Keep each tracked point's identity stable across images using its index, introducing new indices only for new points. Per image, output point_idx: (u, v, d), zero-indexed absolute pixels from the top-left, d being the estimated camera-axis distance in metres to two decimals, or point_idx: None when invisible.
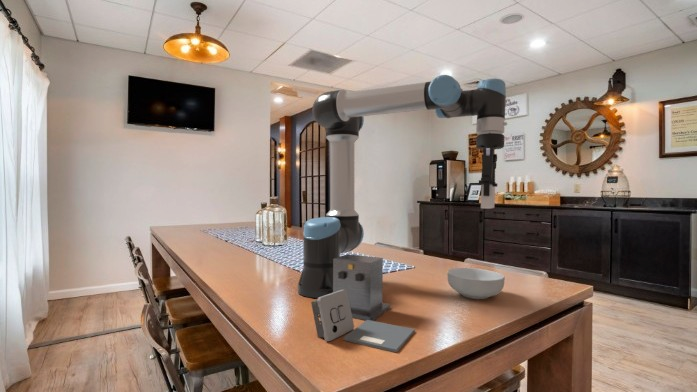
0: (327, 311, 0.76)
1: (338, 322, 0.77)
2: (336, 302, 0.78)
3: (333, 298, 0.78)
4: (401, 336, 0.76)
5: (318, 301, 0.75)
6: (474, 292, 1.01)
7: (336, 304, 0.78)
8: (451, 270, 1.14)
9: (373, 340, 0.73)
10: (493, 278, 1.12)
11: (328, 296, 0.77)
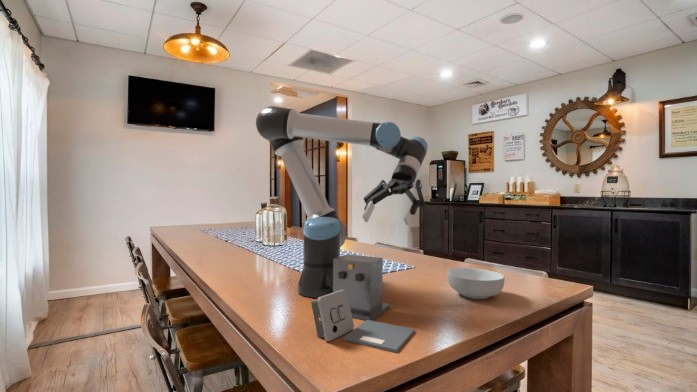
0: (327, 311, 0.76)
1: (338, 322, 0.77)
2: (336, 302, 0.78)
3: (333, 298, 0.78)
4: (401, 336, 0.76)
5: (318, 301, 0.75)
6: (474, 292, 1.01)
7: (336, 304, 0.78)
8: (451, 270, 1.14)
9: (373, 340, 0.73)
10: (493, 278, 1.12)
11: (328, 296, 0.77)
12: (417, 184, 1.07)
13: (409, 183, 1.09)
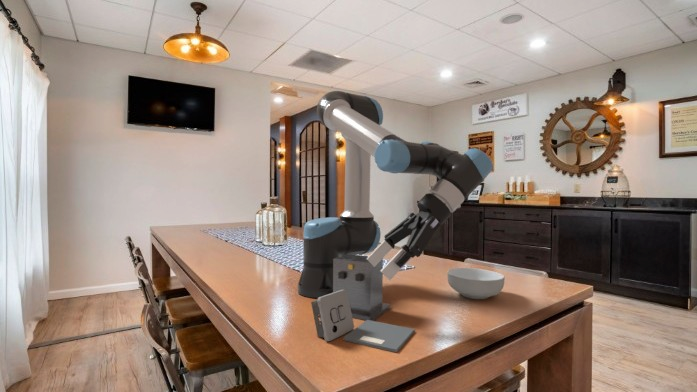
0: (327, 311, 0.76)
1: (338, 322, 0.77)
2: (336, 302, 0.78)
3: (333, 297, 0.78)
4: (401, 336, 0.76)
5: (318, 301, 0.75)
6: (474, 292, 1.01)
7: (336, 304, 0.78)
8: (451, 270, 1.14)
9: (373, 340, 0.73)
10: (493, 278, 1.12)
11: (328, 296, 0.77)
12: (426, 223, 0.74)
13: (424, 220, 0.77)
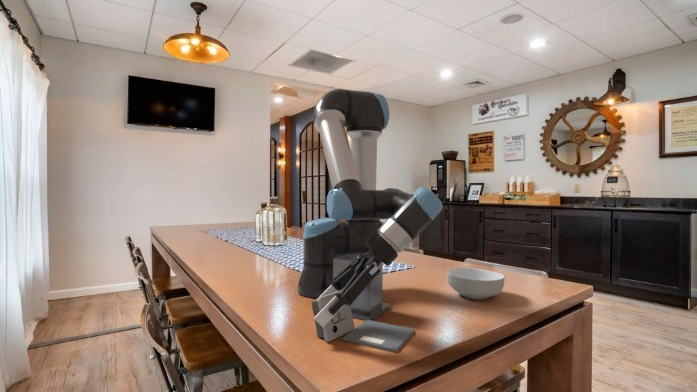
0: None
1: (338, 322, 0.77)
2: None
3: None
4: (401, 336, 0.76)
5: (318, 301, 0.75)
6: (474, 292, 1.01)
7: None
8: (451, 270, 1.14)
9: (373, 340, 0.73)
10: (493, 278, 1.12)
11: (328, 296, 0.77)
12: (365, 269, 0.73)
13: (368, 263, 0.76)
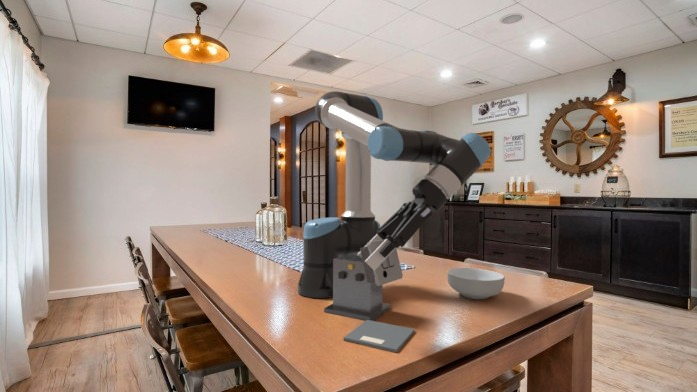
0: None
1: (388, 268, 0.75)
2: None
3: None
4: (401, 336, 0.76)
5: (368, 245, 0.74)
6: (474, 292, 1.01)
7: None
8: (451, 270, 1.14)
9: (373, 340, 0.73)
10: (493, 278, 1.12)
11: (377, 242, 0.76)
12: (416, 212, 0.72)
13: (418, 207, 0.75)
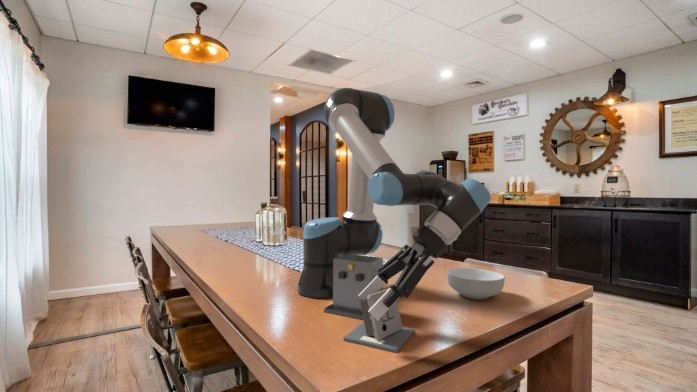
0: None
1: (387, 321, 0.76)
2: None
3: None
4: (401, 336, 0.76)
5: (368, 299, 0.74)
6: (474, 292, 1.01)
7: None
8: (451, 270, 1.14)
9: (373, 340, 0.73)
10: (493, 278, 1.12)
11: (377, 294, 0.76)
12: (418, 261, 0.72)
13: (418, 255, 0.75)
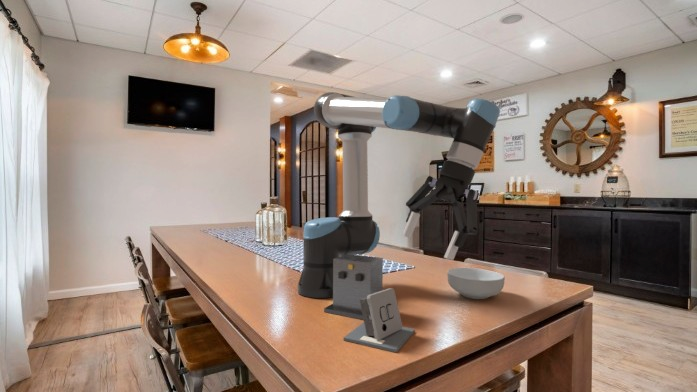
0: (377, 309, 0.75)
1: (387, 321, 0.76)
2: (385, 300, 0.77)
3: (382, 296, 0.77)
4: (401, 336, 0.76)
5: (368, 299, 0.74)
6: (474, 292, 1.01)
7: (385, 303, 0.77)
8: (451, 270, 1.14)
9: (373, 340, 0.73)
10: (493, 278, 1.12)
11: (377, 294, 0.76)
12: (469, 198, 0.77)
13: (460, 192, 0.79)
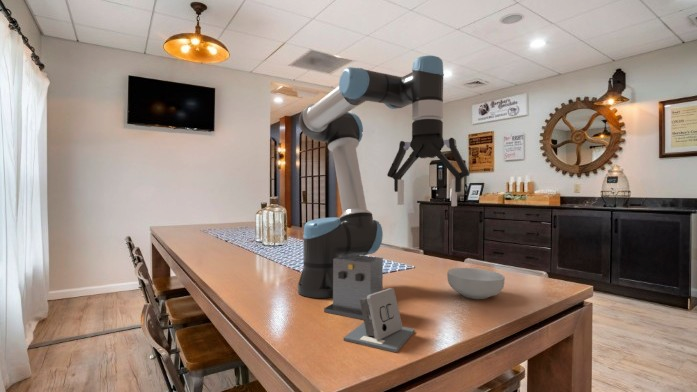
0: (377, 309, 0.75)
1: (387, 321, 0.76)
2: (385, 300, 0.77)
3: (382, 296, 0.77)
4: (401, 336, 0.76)
5: (368, 299, 0.74)
6: (474, 292, 1.01)
7: (385, 303, 0.77)
8: (451, 270, 1.14)
9: (373, 340, 0.73)
10: (493, 278, 1.12)
11: (377, 294, 0.76)
12: (452, 146, 0.83)
13: (440, 144, 0.85)
